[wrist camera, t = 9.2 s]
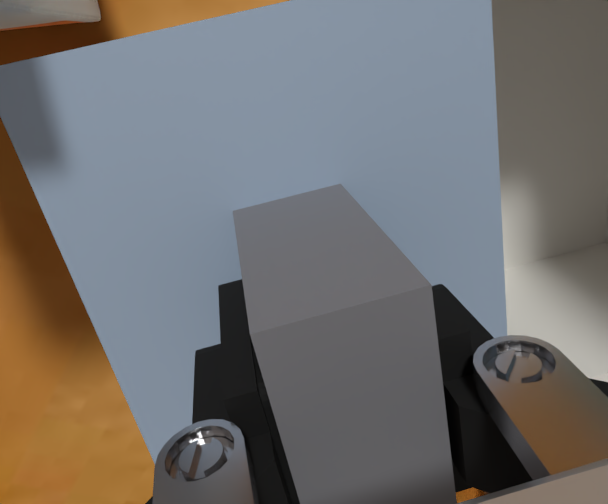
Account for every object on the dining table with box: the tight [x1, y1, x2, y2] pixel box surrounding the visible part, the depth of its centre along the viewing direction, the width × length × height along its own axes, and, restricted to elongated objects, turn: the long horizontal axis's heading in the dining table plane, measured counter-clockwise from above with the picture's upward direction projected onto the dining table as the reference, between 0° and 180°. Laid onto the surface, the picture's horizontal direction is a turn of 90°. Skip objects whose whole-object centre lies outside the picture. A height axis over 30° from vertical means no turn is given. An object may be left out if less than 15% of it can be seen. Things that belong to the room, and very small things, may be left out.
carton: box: [491, 0, 608, 382], centre depth 17 cm, size 13×20×8 cm, turn 102°
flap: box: [0, 0, 507, 504], centre depth 10 cm, size 13×10×6 cm
